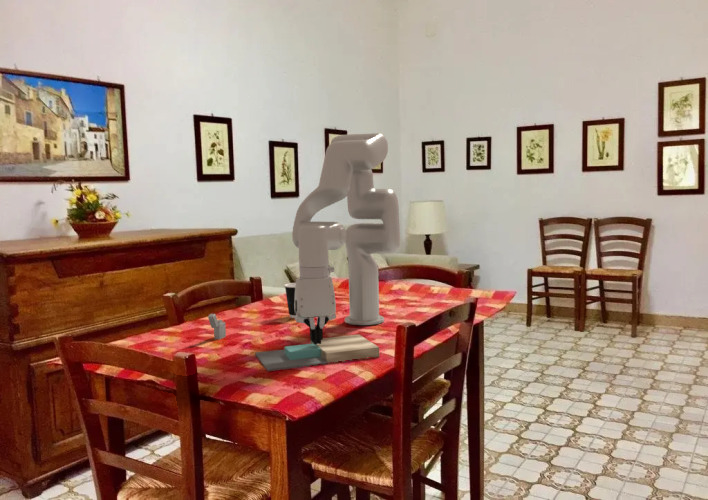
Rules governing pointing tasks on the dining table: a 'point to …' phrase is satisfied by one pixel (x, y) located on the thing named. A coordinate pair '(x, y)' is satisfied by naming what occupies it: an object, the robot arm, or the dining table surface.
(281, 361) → the rubber mat
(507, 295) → the dining table surface
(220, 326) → the lighter
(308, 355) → the teal tile
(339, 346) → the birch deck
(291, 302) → the dixie cup
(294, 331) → the dining table surface
